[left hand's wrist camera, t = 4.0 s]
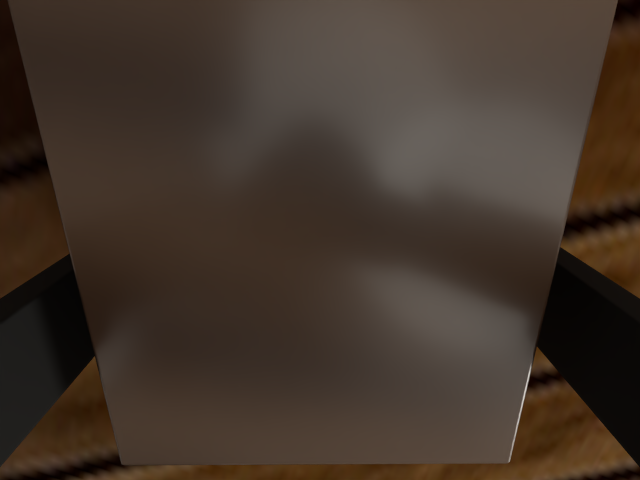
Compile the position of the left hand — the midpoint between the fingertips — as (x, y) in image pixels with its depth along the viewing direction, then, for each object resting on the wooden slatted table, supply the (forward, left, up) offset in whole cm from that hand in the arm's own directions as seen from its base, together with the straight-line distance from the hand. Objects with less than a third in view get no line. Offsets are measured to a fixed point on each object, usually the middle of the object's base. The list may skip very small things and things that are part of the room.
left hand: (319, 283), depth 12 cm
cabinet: (+1, +5, -6) cm, 8 cm away
